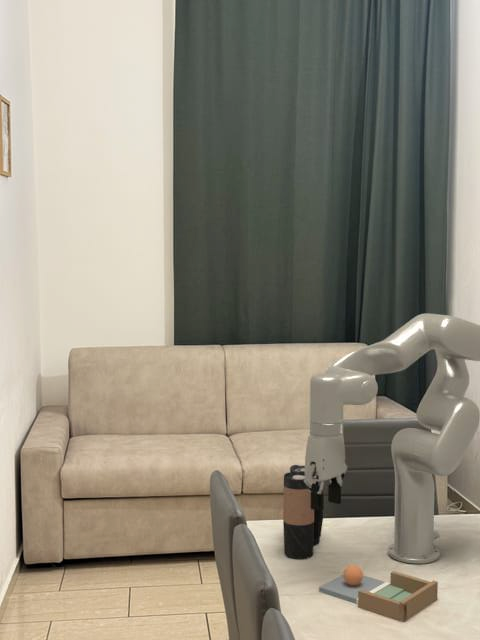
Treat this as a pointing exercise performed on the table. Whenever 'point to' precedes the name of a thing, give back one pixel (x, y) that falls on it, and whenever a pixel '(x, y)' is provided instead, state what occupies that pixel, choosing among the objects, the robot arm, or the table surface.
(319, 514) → the portable speaker
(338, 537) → the table surface
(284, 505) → the travel mug
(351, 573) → the ball
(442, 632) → the table surface
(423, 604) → the lane
